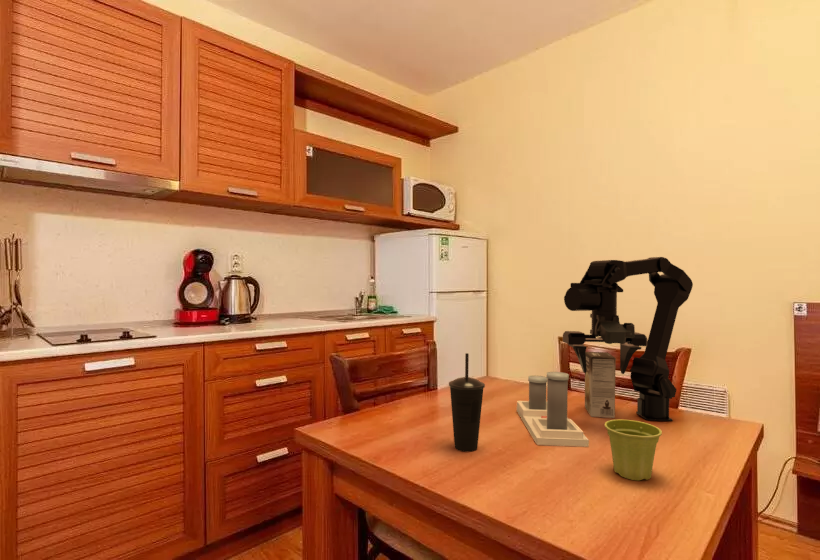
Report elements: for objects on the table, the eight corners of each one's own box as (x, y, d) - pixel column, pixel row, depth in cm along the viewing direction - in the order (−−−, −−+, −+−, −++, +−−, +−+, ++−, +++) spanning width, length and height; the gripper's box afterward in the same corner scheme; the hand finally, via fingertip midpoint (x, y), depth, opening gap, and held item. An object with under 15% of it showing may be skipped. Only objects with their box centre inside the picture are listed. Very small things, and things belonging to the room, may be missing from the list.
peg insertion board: (557, 412, 118) (557, 373, 118) (588, 446, 93) (589, 398, 93) (516, 411, 119) (516, 372, 119) (536, 444, 94) (537, 396, 94)
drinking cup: (486, 443, 95) (487, 352, 95) (480, 456, 87) (481, 357, 88) (452, 439, 97) (453, 349, 97) (444, 451, 90) (445, 355, 90)
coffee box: (583, 407, 124) (584, 351, 124) (607, 408, 122) (608, 352, 123) (590, 417, 115) (590, 356, 115) (616, 418, 113) (616, 357, 114)
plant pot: (660, 490, 74) (660, 439, 74) (600, 477, 79) (601, 429, 79) (662, 470, 82) (662, 424, 82) (608, 459, 87) (608, 416, 87)
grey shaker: (568, 429, 100) (569, 373, 100) (567, 435, 96) (567, 376, 96) (547, 426, 102) (547, 371, 102) (544, 432, 98) (545, 374, 98)
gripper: (575, 312, 101) (575, 379, 100) (659, 313, 99) (658, 381, 99) (562, 309, 112) (561, 369, 112) (637, 310, 110) (636, 371, 110)
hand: (603, 373), depth 108 cm, fingers open, 9 cm apart
